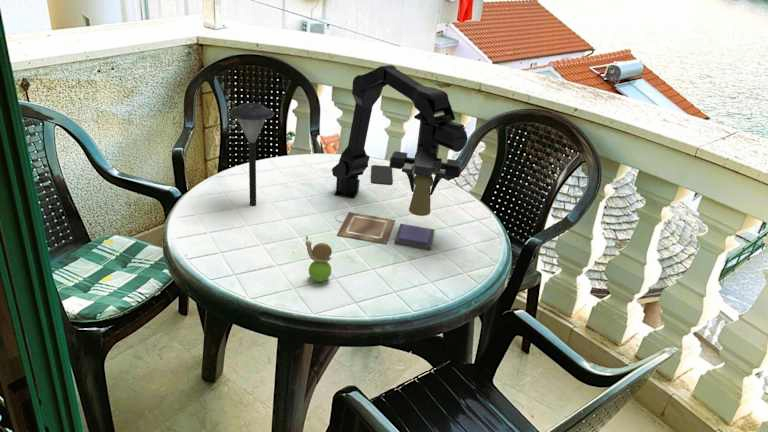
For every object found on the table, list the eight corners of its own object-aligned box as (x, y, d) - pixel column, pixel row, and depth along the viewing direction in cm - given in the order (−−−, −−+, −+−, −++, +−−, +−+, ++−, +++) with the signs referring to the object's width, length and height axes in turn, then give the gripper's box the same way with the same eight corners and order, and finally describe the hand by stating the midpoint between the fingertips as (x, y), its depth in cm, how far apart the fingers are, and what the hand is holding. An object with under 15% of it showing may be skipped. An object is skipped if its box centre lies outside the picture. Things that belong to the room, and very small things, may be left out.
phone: (392, 166, 205) (393, 183, 191) (391, 168, 205) (392, 186, 192) (371, 164, 204) (370, 182, 191) (371, 166, 205) (370, 184, 191)
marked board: (336, 235, 159) (336, 234, 159) (348, 213, 171) (349, 211, 171) (386, 244, 157) (386, 242, 157) (395, 221, 170) (395, 219, 169)
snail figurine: (304, 273, 142) (306, 230, 136) (330, 273, 142) (333, 232, 137) (303, 285, 137) (305, 242, 131) (330, 286, 138) (333, 243, 132)
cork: (430, 207, 163) (435, 171, 157) (430, 217, 157) (435, 180, 152) (409, 204, 163) (413, 169, 158) (408, 214, 158) (412, 177, 152)
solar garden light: (270, 194, 177) (271, 99, 163) (277, 213, 167) (277, 113, 153) (229, 196, 173) (226, 99, 159) (233, 215, 163) (230, 114, 149)
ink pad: (394, 244, 158) (394, 238, 157) (400, 227, 167) (400, 221, 166) (430, 250, 157) (430, 245, 156) (434, 233, 166) (434, 227, 165)
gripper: (388, 144, 144) (383, 200, 151) (463, 155, 142) (453, 211, 149) (395, 130, 154) (390, 183, 161) (465, 140, 152) (456, 193, 159)
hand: (421, 193), depth 157 cm, fingers closed on cork, 5 cm apart
